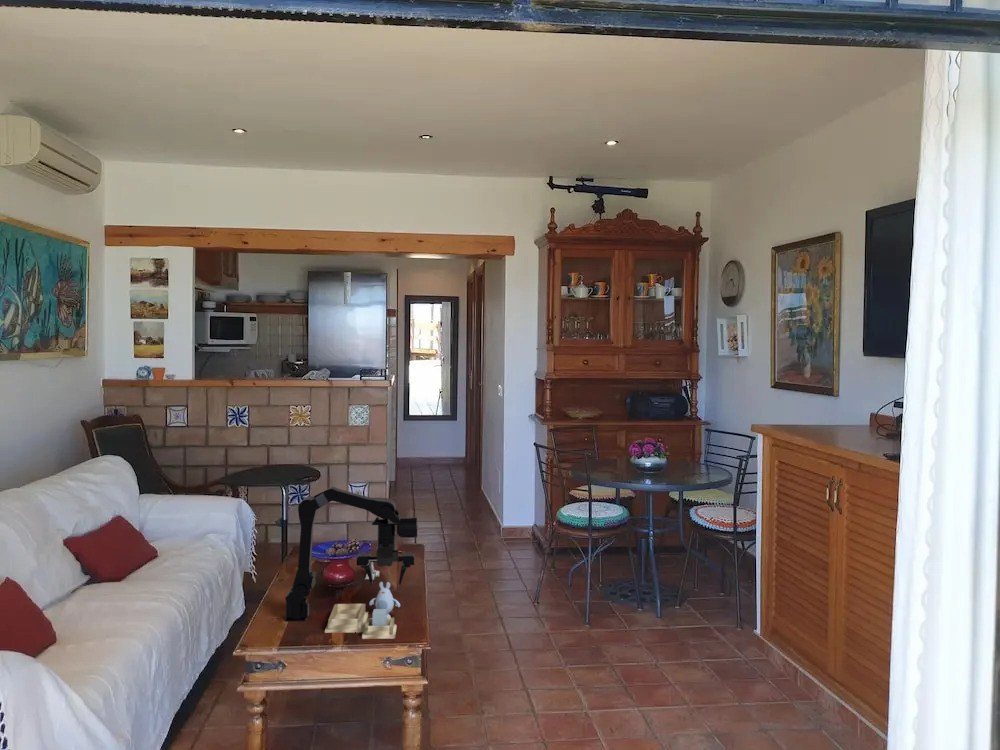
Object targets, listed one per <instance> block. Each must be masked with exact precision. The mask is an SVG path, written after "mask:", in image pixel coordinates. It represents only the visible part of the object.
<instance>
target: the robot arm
mask: <svg viewBox="0 0 1000 750" xmlns="http://www.w3.org/2000/svg"><path fill="white" fill-rule="evenodd" d="M330 502H336V503H340V504H343V505H347V506H351V507H355V508H357V509H358V508H359V509H362V510H365V511H367V512H370V513H371V514H372V515H374V516H376V518H375V519H374V520H372V522H371V525H372V526H377V548H376V555H371V552H359V554H358V555H357V557H356V566H360V568H361V569H364V571H365V572H366V575H367V574H368V577H369V579H368V580H369V582H370V585H371V586H373V583H374V582H373V581H374V579H373V577H372V565H371V562H373V563H374V562H376V565H377V566H378V567H384V566H385V567H386V566H387V567H392V565H393V563H394V562H395V563H396V562H398V563H399V562H401V565H400V573H399V578H398V579H399V581H398V583H399V585H400V586H401V584H402V580H403V578H404V576H405V572H406V571H407V569H408V568H411V566H415V562H416V560H415V559H416V554H415V553H414V552H403V553H402V555H399V550H398V549H396V535H397V536H399V537H400V539H418V531H419V529H418V528H419V527H418V526H419V525H418V517H417V516H410V517H406V516H403V517H402V514H401V513H400V512H399V511H398V509H397V505H396V502H395V501H394V500H393V499H391V498H387V497H370V496H366V495H362V494H360V493H359V494H358V493H356V492H355V493H354V492H351V491H349V490H344V489H340V488H337V487H335V486H330V487H328V488H327V489H324V491H321V492H319V493H317V494H316V495H315V494H314V495H313V496H311V495H309V496H306V497H304V498H303V499H302V500H301V501H300V503H299V504H298V506H297V511H298V519H299V523H300V535H299V537H300V538H299V552H298V562H297V570H296V574H295V577H294V580H293V584H292V587H291V589H289V591H288V593H287V594H286V596H285V597H284V599H285V609H286V610H285V619H284V622H305V621H306V620H307V619H308V617H309V615H310V602H308V597H307V596H309V594H310V592H311V591H312V590H314V587H315V585H316V576H317V575H316V574H317V572H316V571H312V555H313V554H312V553H313V552H312V551H313V541H314V540H313V539H314V525H315V523H316V520H317V519H316V518H317V515H318V511H319V509H321V508H322V507H324V506H325V505H327V504H328V503H330Z"/></svg>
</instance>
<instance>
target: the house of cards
mask: <svg viewBox="0 0 1000 750" xmlns="http://www.w3.org/2000/svg"><path fill="white" fill-rule="evenodd" d="M371 565H372V577H373V580H375V579H376V578H380V570H376V569H375V567H374V562H371ZM364 580H369V577H368V574H367V573H366V575H365V578H364Z"/></svg>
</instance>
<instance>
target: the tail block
mask: <svg viewBox="0 0 1000 750" xmlns="http://www.w3.org/2000/svg"><path fill="white" fill-rule="evenodd" d="M372 618H373V626H387V609H376V608H374V609H373V611H372Z"/></svg>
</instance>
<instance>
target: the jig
mask: <svg viewBox="0 0 1000 750" xmlns="http://www.w3.org/2000/svg"><path fill="white" fill-rule="evenodd" d="M368 613H369V611H366V603H335V604H334V605H333V608H332V611H331V613H330V615H329V618H328V620H327V621H328V622H327V625H326V627H325V628H324V629H325V630H324V633H325V634H327V633H330V634H331V633H333V634H336V633H337V634H339V633H342V634H345V633H355V632H356V633H362V634H361V639H362V640H370V639H373V640H374V639H377V640H378V639H381V640H384V639H385V640H386V639H387V640H389V639H391V640H392V639H396V635H397V634H396V632H397V628H398V627H397V624H395V617H390V618H387V626H373V617H369V614H370V613H369V614H368Z"/></svg>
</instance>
